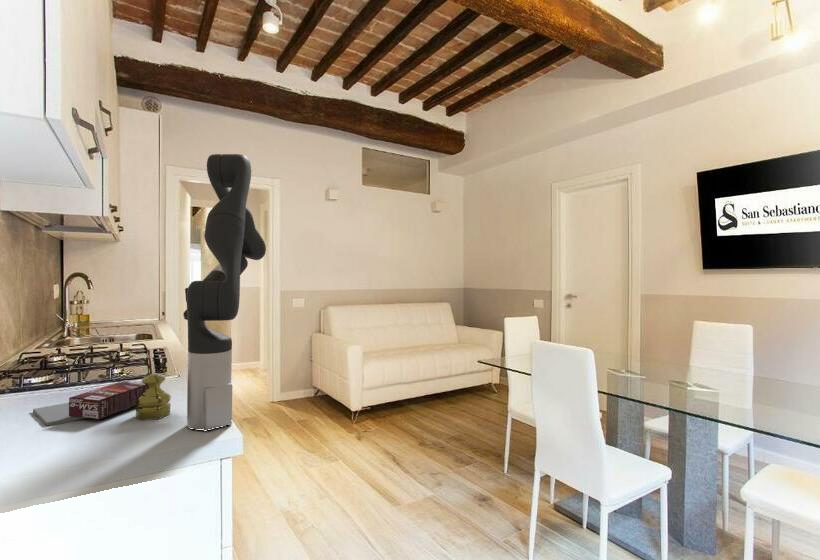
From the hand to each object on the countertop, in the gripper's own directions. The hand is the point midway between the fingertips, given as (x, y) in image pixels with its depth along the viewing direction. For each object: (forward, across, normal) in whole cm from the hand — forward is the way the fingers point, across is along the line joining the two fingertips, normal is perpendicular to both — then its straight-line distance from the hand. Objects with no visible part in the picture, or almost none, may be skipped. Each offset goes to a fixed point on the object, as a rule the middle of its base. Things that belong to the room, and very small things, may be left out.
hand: (186, 318), depth 120 cm
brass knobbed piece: (+26, +8, +5) cm, 27 cm away
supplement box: (+18, -4, +11) cm, 22 cm away
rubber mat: (+29, -11, +9) cm, 32 cm away
